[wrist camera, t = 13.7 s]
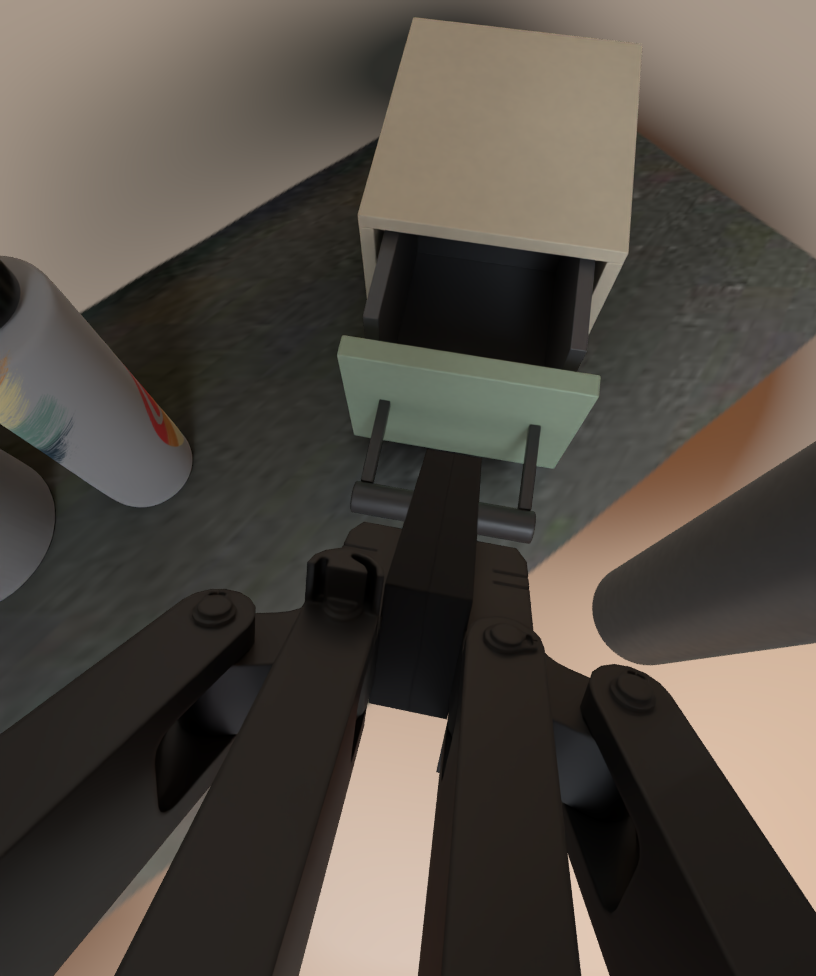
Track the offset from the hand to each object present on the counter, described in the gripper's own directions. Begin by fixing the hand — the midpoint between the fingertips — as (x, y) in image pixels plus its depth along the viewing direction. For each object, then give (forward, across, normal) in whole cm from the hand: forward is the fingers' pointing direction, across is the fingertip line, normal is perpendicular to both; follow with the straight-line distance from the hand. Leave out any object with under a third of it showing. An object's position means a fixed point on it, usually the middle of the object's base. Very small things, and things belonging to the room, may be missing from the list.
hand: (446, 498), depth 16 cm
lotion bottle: (+16, -19, -9) cm, 26 cm away
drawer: (+21, 0, -3) cm, 21 cm away
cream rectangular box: (+30, 0, +5) cm, 30 cm away
